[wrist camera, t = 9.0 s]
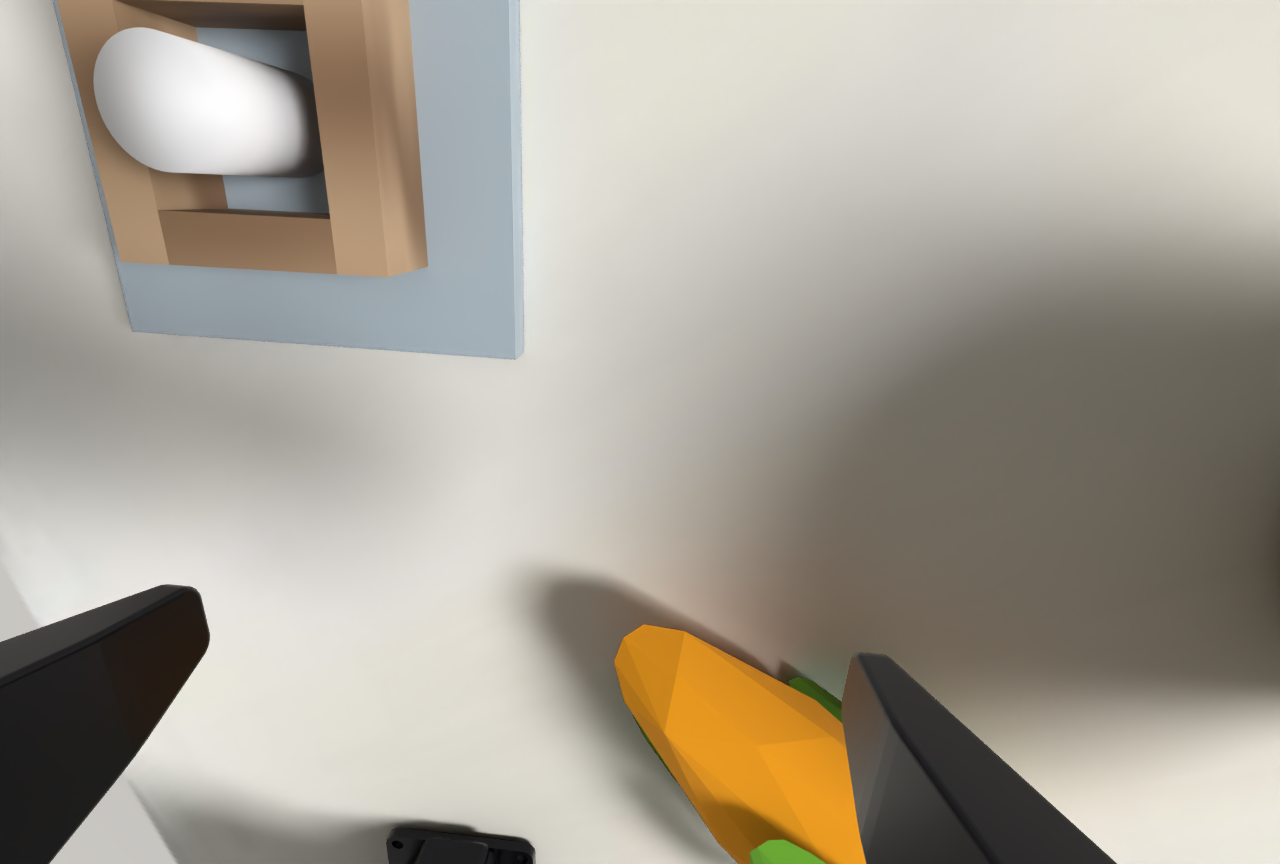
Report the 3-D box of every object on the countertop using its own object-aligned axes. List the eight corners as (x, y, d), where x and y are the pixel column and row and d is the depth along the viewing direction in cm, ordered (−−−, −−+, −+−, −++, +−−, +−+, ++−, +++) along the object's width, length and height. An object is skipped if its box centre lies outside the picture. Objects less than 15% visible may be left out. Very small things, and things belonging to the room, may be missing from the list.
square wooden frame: (428, 266, 18) (388, 277, 15) (193, 253, 18) (120, 261, 16) (406, -27, 15) (354, -68, 13) (136, -35, 16) (38, -75, 13)
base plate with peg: (524, 351, 19) (463, 407, 14) (158, 325, 20) (-25, 369, 15) (517, -131, 15) (427, -297, 10) (53, -144, 16) (-252, -305, 11)
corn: (949, 1176, 20) (495, 825, 16) (873, 925, 27) (546, 640, 23) (1160, 1083, 18) (711, 663, 14) (1019, 842, 26) (694, 518, 22)
